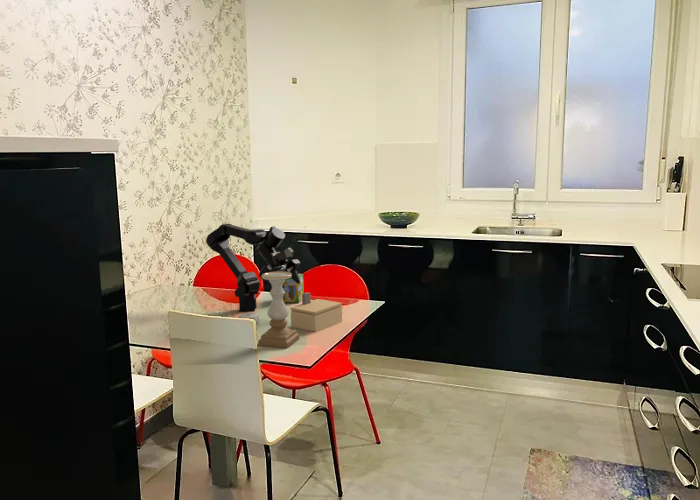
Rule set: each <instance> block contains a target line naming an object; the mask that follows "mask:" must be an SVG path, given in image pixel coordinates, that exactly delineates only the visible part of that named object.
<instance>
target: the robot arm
mask: <svg viewBox="0 0 700 500" xmlns="http://www.w3.org/2000/svg"><path fill="white" fill-rule="evenodd" d="M231 236H232V237H234V238H235V237H236V238H238V239H242V240H244V241H245V242H246V243H247V244H249V245H251V246H255V245H258V246H256V247H255V251H254V254H255V255H258V254H260V256H261V257H262V258H263V260H264V261H263V264H264V266H263V268H262V269H261V270H260V271H259V272H258V275H259V277H258V276H257V274H256V273H255V272H254V271H247V270H246V268H245V267H244V265H243V264H242V263H241V262H240V260H239V259H238V258H237V256H236V254H234V252H233V250H232V249H231V247H230V245H229V242H230V241H229V239H230V238H231ZM285 238H286V234H285V232H284V231H283V230H282V229H280V228H278V227H276V226H275V225H273V226H271V227H270V228H269V230H268V231H266V230H265V229H263V228H262V229H259V228H258V229H249V228H245V227H242V226H241V227H240V226H238V225H234V224H232V223H224V224H223V223H222V224H220V225H219V226H218V228H216V229H215V230H212V231H211V233H209V234H207V236H206V239H205V240H206V245H207V246H208V247H209V248H210V249H211V251H214V252H216V253H218V255H220V257H221V258H222V259H223V261H224V263H225V264H226V265H227V266H228V268H229V269H230V271H231V272H232V274H233V275H234V276H235V278H236V285H237V288H235V290H234V296H235V297H236V298H238V303H239V304H238V305H239V306H238V307H239V309H238V312H240V313H241V312H255V311H256V309H257V307H258V305H257V304H258V303H257V297H256V295H258V294H259V290H260V287H261V282H260V280H262V281H263V280H264V281H266V282H269V280H266V279H263V278H262V277H261V276H262V274H264V273H268V272H278V271H281V272H283V271H284V272H289V273H291V274H292V276H291V278H292V279H293V280H294V281H295V282H296V283H298V284H300V279H299V276H298V274H299V272H298V268H299V267H300V265H301V262H300V260H299V259H296V258H294V255H295V252H294V250H293V249H292V247H288V248H285V249H284V250H282V251H277V250H276V249H277V248H278V247H279V246H280V245H281V243H282V241H284V239H285ZM290 258H294V259H290ZM288 259H290V260H288ZM286 263H287V264H286ZM282 288H284V285H282Z"/></svg>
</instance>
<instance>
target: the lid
mask: <svg viewBox="0 0 700 500" xmlns="http://www.w3.org/2000/svg"><path fill="white" fill-rule="evenodd" d="M311 297H312V296H311V292H304V293H303V294H302V300H301V301H302V302H301V303H300V304H298V305H295V306H294V305H293V306H291V307H290V311H297V312H302V313H308V314H313V315H317V314H319V313H322V312H325V311H328V310H331V309H334V308H336V307H339V306H342V307H343V302H338V301H331V300H326V299H320V298H317V299H313V300H311Z"/></svg>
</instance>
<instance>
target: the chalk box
mask: <svg viewBox="0 0 700 500" xmlns="http://www.w3.org/2000/svg"><path fill="white" fill-rule="evenodd" d="M298 276H299V279H300V284H298V283H296V282H295V281H294V280H293V279H292V278H291V277H290V278H288V279H285V281H284V283H283V285H284V288H283V290H284V291H285V294H284V296H283V298H282V300H283V302H284V303H295V304H297V303H300V302H301V301H302V294H303V293H305V292H304V274H303V273H298Z"/></svg>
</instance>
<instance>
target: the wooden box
mask: <svg viewBox="0 0 700 500" xmlns="http://www.w3.org/2000/svg"><path fill="white" fill-rule="evenodd" d="M342 322H343V305H342V306H339V307H336V308H334V309H331V310H328V311H325V312H322V313H319V314H317V315H313V314H308V313H302V312H297V311H292V310H290V327H292V328H297V329H301V330H307V331H311V332H315V333H317V332H319V331H321V330H323V329H326V328H329V327H332V326H334V325H336V324H339V323H342Z"/></svg>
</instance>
